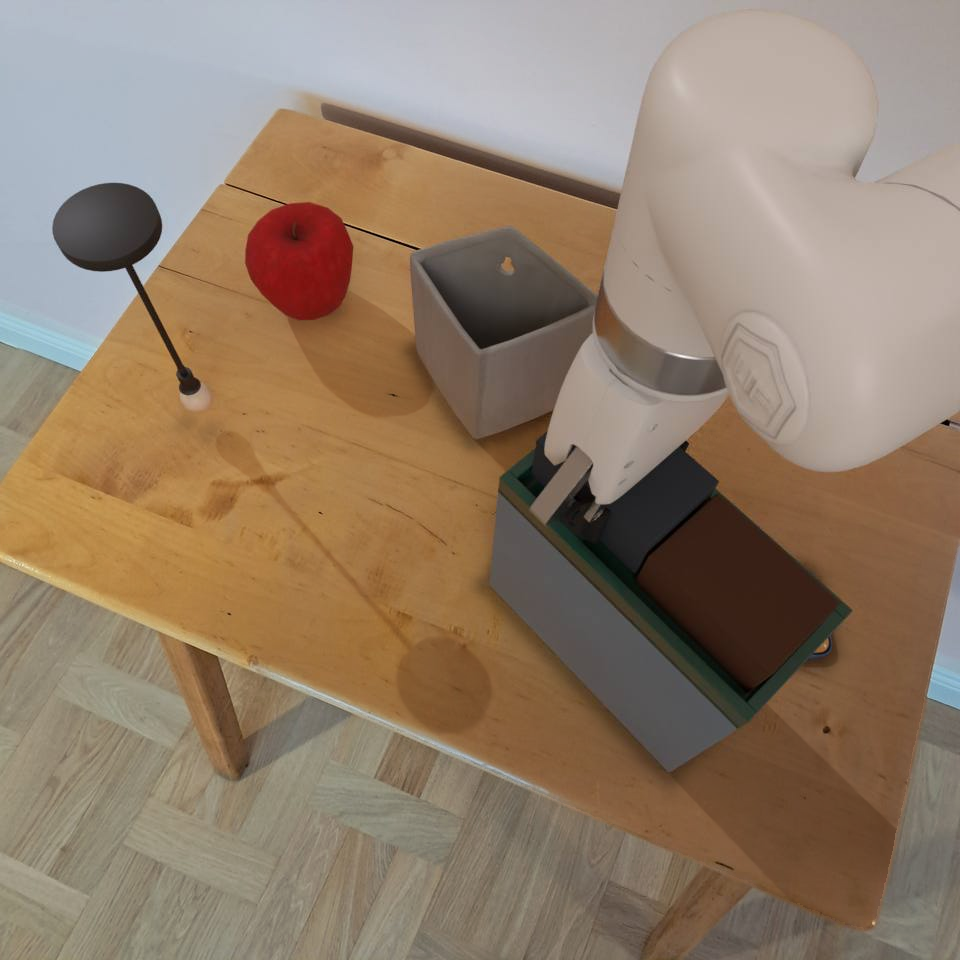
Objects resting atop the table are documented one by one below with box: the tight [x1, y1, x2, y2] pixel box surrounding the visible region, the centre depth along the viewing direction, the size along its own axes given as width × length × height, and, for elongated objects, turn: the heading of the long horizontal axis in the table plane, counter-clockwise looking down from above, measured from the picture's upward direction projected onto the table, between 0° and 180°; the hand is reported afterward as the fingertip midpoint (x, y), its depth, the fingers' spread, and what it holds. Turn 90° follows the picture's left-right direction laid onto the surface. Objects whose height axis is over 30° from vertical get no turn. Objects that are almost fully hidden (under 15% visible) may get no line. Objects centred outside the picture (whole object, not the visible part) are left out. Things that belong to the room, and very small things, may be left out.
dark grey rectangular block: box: [531, 430, 720, 573], centre depth 52 cm, size 6×9×4 cm, turn 42°
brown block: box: [635, 493, 840, 693], centre depth 50 cm, size 6×9×4 cm, turn 42°
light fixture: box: [51, 182, 213, 413], centre depth 67 cm, size 7×7×25 cm
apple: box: [244, 201, 354, 321], centre depth 80 cm, size 10×10×11 cm
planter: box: [409, 225, 598, 440], centre depth 71 cm, size 16×8×19 cm, turn 73°
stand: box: [488, 491, 738, 774], centre depth 62 cm, size 20×10×18 cm, turn 42°
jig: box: [497, 447, 853, 730], centre depth 53 cm, size 20×10×2 cm, turn 42°
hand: (616, 490), depth 54 cm, fingers closed on dark grey rectangular block, 5 cm apart
